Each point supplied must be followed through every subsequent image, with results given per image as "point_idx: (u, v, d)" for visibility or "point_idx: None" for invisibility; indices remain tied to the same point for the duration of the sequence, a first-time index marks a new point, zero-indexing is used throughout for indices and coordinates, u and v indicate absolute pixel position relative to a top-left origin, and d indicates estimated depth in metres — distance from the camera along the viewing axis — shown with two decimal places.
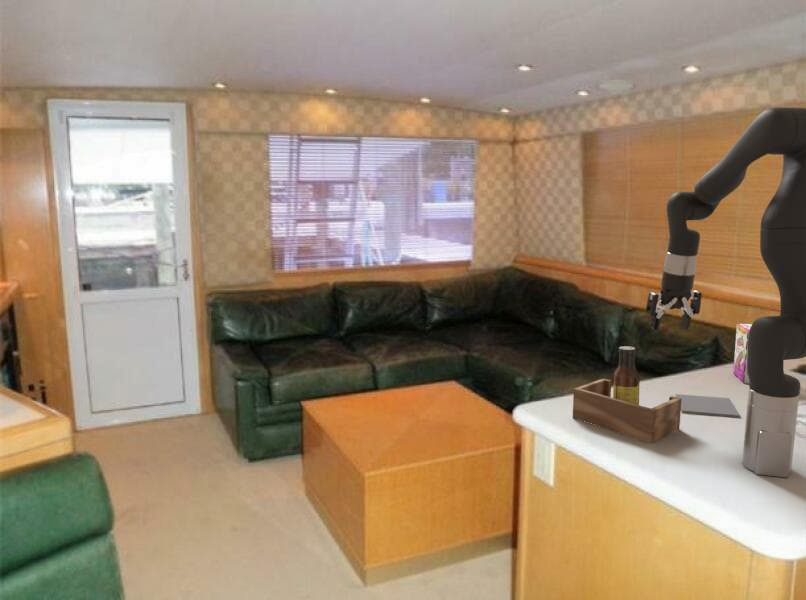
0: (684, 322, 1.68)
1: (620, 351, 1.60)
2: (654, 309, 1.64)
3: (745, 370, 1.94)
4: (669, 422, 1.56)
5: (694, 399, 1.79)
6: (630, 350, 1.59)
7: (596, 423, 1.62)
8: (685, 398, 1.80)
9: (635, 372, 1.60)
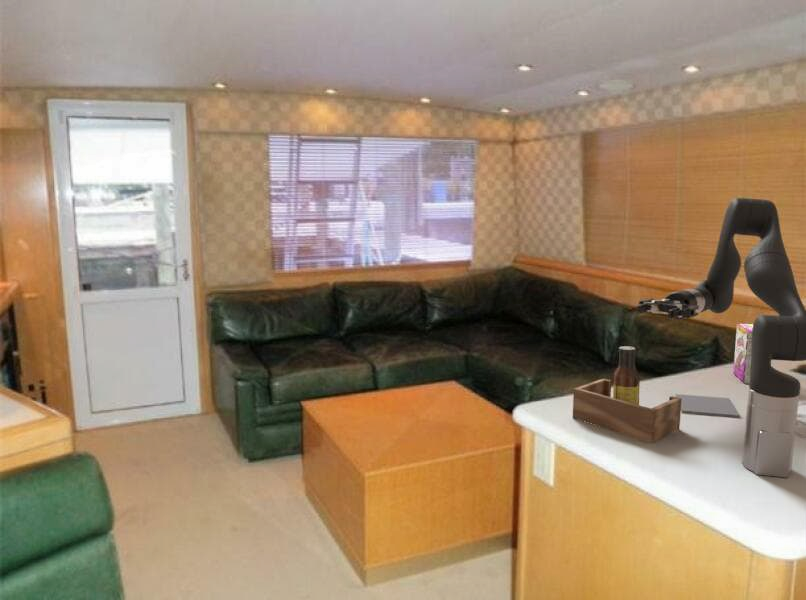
0: None
1: (620, 351, 1.60)
2: (644, 300, 1.74)
3: (745, 370, 1.94)
4: (669, 422, 1.56)
5: (694, 399, 1.79)
6: (630, 350, 1.59)
7: (596, 423, 1.62)
8: (685, 398, 1.80)
9: (635, 372, 1.60)
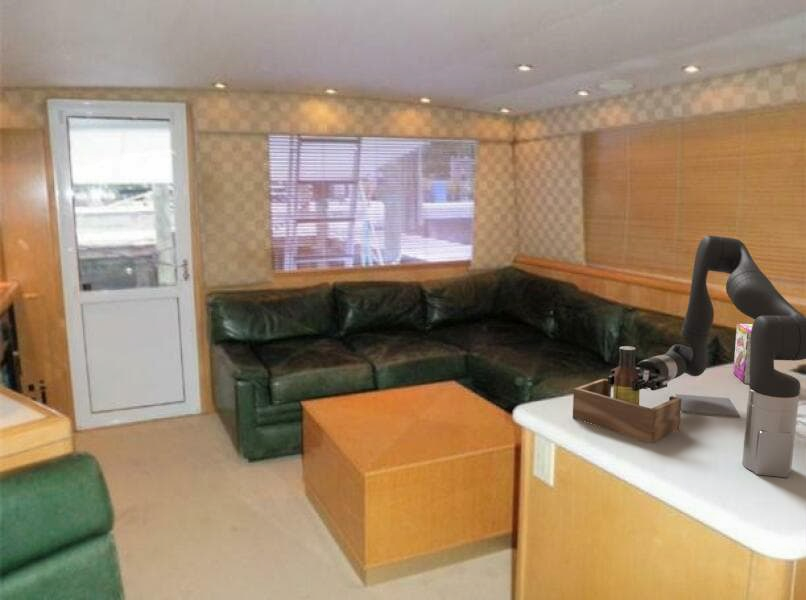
0: None
1: (620, 351, 1.60)
2: None
3: (745, 370, 1.94)
4: (669, 422, 1.56)
5: (694, 399, 1.79)
6: (630, 350, 1.58)
7: (596, 423, 1.62)
8: (685, 398, 1.80)
9: (635, 372, 1.60)
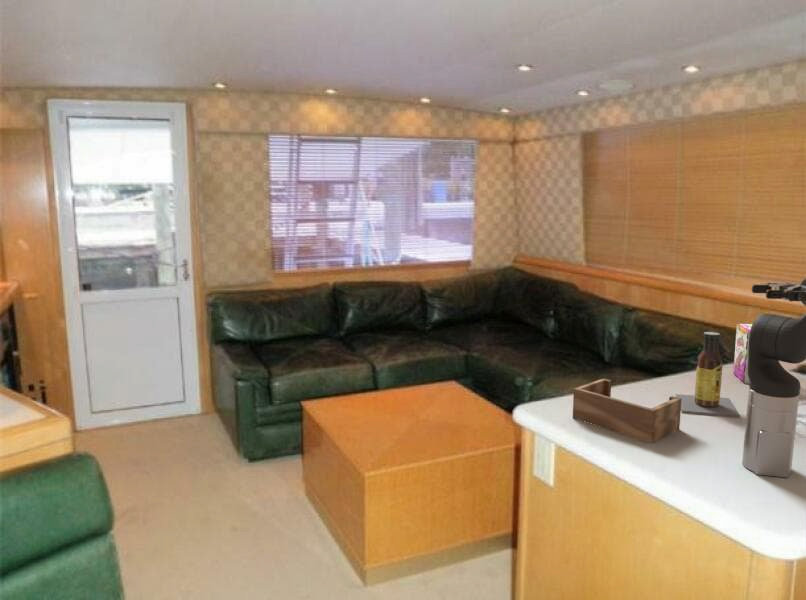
0: None
1: (703, 335, 1.73)
2: (774, 283, 1.74)
3: (745, 370, 1.94)
4: (669, 422, 1.56)
5: (694, 399, 1.79)
6: (709, 335, 1.71)
7: (596, 423, 1.62)
8: (685, 398, 1.80)
9: (714, 356, 1.71)
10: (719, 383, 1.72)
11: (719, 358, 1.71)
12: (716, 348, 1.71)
